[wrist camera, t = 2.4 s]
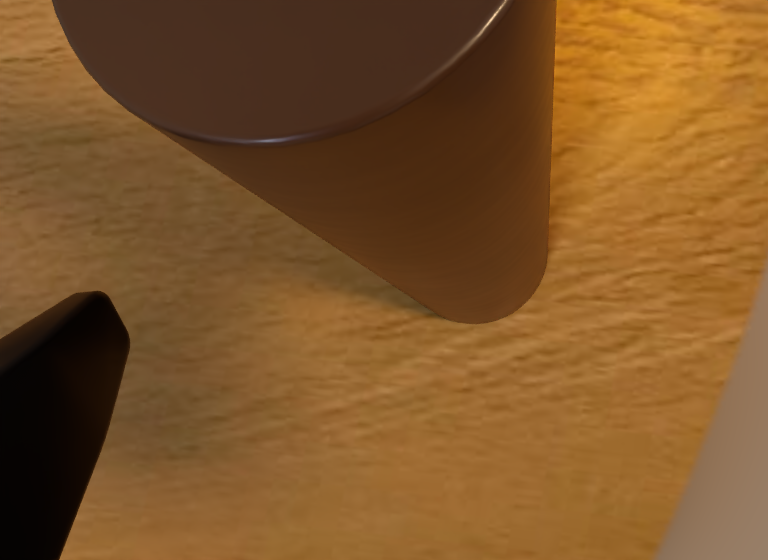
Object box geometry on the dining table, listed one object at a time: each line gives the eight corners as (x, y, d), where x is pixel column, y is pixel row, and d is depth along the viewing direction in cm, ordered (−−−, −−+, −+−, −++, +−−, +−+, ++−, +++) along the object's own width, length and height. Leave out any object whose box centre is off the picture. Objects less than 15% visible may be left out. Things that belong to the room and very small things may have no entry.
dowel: (567, 298, 19) (650, 15, 4) (426, 342, 20) (92, 224, 5) (520, 163, 20) (458, -454, 5) (386, 209, 20) (-2, -221, 6)
